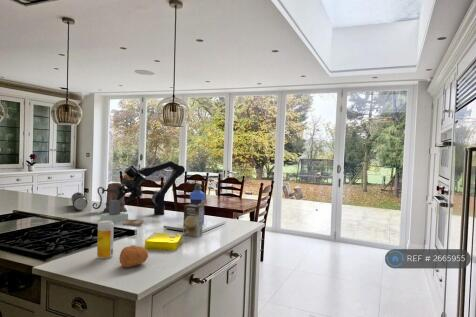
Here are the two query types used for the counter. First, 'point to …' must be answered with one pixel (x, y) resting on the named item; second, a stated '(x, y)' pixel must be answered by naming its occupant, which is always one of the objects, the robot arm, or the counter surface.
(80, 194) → the muzzle brake
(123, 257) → the potato
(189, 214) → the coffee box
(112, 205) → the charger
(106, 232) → the white yellow canister
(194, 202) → the water bottle
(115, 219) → the socket block
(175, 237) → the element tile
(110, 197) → the tankard
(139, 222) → the pad
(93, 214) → the counter surface
